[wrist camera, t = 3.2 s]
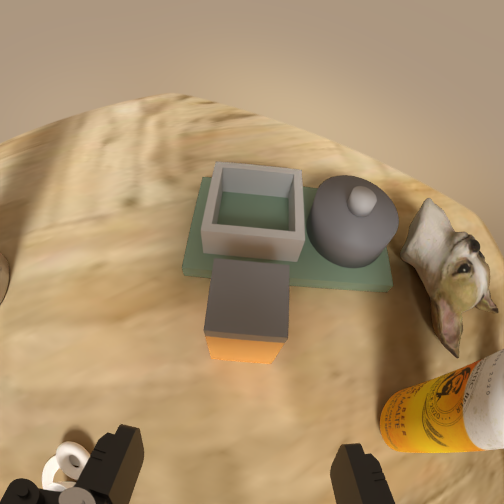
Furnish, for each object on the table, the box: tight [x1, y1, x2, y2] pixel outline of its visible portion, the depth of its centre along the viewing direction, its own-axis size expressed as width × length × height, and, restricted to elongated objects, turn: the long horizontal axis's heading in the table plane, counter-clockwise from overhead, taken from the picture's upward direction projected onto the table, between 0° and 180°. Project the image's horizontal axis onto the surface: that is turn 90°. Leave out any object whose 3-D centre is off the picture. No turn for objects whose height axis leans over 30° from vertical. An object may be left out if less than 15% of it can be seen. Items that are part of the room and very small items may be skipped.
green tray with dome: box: [182, 162, 399, 292], centre depth 28 cm, size 20×12×7 cm, turn 86°
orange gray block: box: [204, 258, 289, 364], centre depth 22 cm, size 5×5×8 cm
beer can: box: [380, 349, 504, 453], centre depth 15 cm, size 6×6×15 cm
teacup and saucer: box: [42, 441, 90, 491], centre depth 15 cm, size 9×8×4 cm
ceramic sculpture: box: [400, 198, 499, 358], centre depth 26 cm, size 11×9×15 cm
